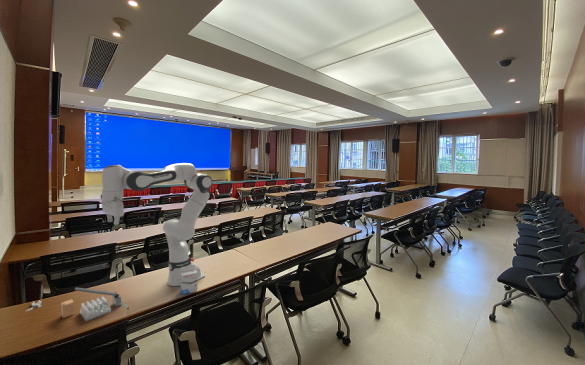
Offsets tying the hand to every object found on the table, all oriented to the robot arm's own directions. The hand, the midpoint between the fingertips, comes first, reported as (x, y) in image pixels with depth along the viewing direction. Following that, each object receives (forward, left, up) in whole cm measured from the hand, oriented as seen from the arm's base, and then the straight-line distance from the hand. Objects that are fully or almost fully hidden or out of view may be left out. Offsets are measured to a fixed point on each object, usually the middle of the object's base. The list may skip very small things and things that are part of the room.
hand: (113, 223), depth 129 cm
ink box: (-32, +16, -44) cm, 57 cm away
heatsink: (+7, +2, -43) cm, 43 cm away
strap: (+8, +2, -33) cm, 34 cm away
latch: (+18, -4, -43) cm, 47 cm away
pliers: (+27, -27, -44) cm, 59 cm away
